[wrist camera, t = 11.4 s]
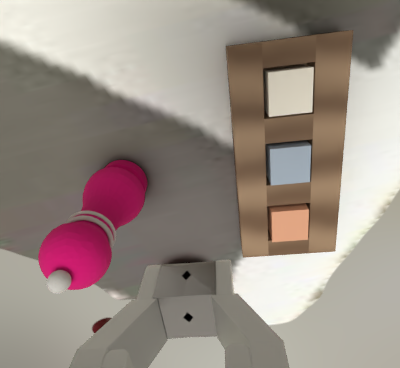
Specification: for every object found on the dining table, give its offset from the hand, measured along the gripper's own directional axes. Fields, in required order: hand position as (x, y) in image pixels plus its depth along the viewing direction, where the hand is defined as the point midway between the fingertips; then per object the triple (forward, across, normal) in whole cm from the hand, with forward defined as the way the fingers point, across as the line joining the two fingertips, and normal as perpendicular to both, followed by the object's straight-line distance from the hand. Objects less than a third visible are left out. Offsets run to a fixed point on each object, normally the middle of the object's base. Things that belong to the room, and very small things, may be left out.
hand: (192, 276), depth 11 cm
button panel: (+28, -9, +6) cm, 30 cm away
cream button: (+27, -9, -2) cm, 29 cm away
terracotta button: (+27, -9, +14) cm, 32 cm away
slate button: (+27, -9, +6) cm, 29 cm away
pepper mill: (+29, +12, +8) cm, 32 cm away
